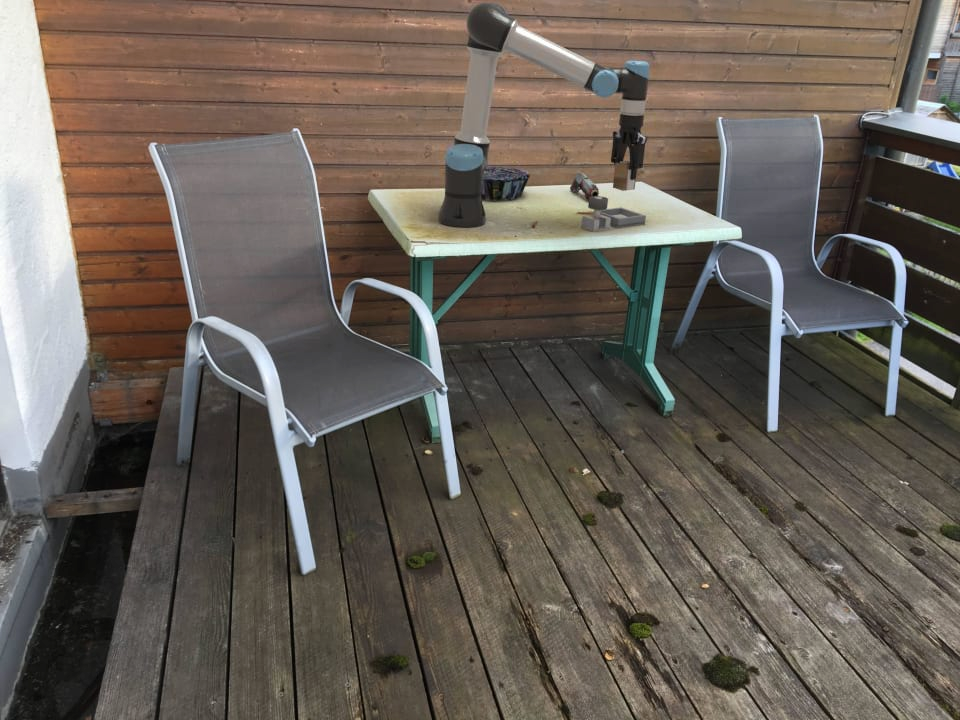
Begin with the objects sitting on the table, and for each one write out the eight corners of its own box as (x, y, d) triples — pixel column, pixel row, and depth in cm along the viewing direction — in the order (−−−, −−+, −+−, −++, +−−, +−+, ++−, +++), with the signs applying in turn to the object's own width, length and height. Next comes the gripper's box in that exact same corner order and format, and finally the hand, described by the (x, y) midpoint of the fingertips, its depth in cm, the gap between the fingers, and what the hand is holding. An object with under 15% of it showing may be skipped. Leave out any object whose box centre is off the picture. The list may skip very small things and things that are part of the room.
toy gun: (586, 212, 282) (590, 186, 276) (566, 190, 297) (571, 165, 292) (597, 212, 283) (602, 186, 278) (577, 190, 299) (581, 165, 293)
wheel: (595, 220, 243) (597, 200, 240) (583, 215, 247) (585, 196, 245) (609, 218, 246) (612, 198, 243) (597, 213, 250) (599, 194, 248)
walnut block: (623, 190, 249) (626, 163, 246) (612, 187, 253) (615, 161, 249) (634, 189, 252) (637, 162, 248) (624, 186, 256) (627, 160, 252)
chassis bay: (617, 228, 250) (618, 219, 248) (593, 219, 259) (594, 210, 257) (644, 224, 256) (646, 215, 254) (620, 216, 265) (621, 207, 263)
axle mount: (593, 232, 244) (594, 220, 243) (580, 227, 249) (582, 215, 247) (609, 229, 248) (611, 218, 246) (597, 225, 252) (598, 213, 251)
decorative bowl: (521, 211, 273) (525, 183, 269) (446, 198, 276) (449, 170, 272) (530, 195, 296) (534, 169, 292) (461, 184, 299) (463, 158, 295)
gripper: (661, 117, 238) (651, 192, 247) (621, 109, 251) (613, 181, 261) (643, 118, 234) (634, 194, 244) (604, 110, 247) (596, 183, 257)
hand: (623, 187), depth 252 cm, fingers closed on walnut block, 5 cm apart
